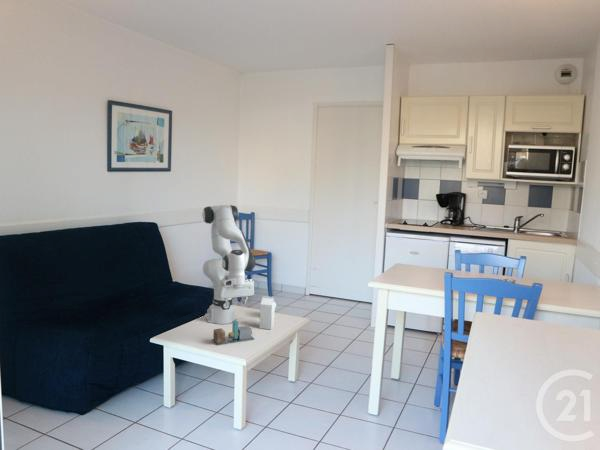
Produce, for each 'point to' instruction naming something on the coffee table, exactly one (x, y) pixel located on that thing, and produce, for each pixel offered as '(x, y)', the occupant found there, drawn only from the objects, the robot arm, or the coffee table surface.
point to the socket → (219, 335)
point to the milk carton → (267, 312)
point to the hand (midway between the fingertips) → (236, 304)
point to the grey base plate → (243, 336)
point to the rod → (235, 331)
